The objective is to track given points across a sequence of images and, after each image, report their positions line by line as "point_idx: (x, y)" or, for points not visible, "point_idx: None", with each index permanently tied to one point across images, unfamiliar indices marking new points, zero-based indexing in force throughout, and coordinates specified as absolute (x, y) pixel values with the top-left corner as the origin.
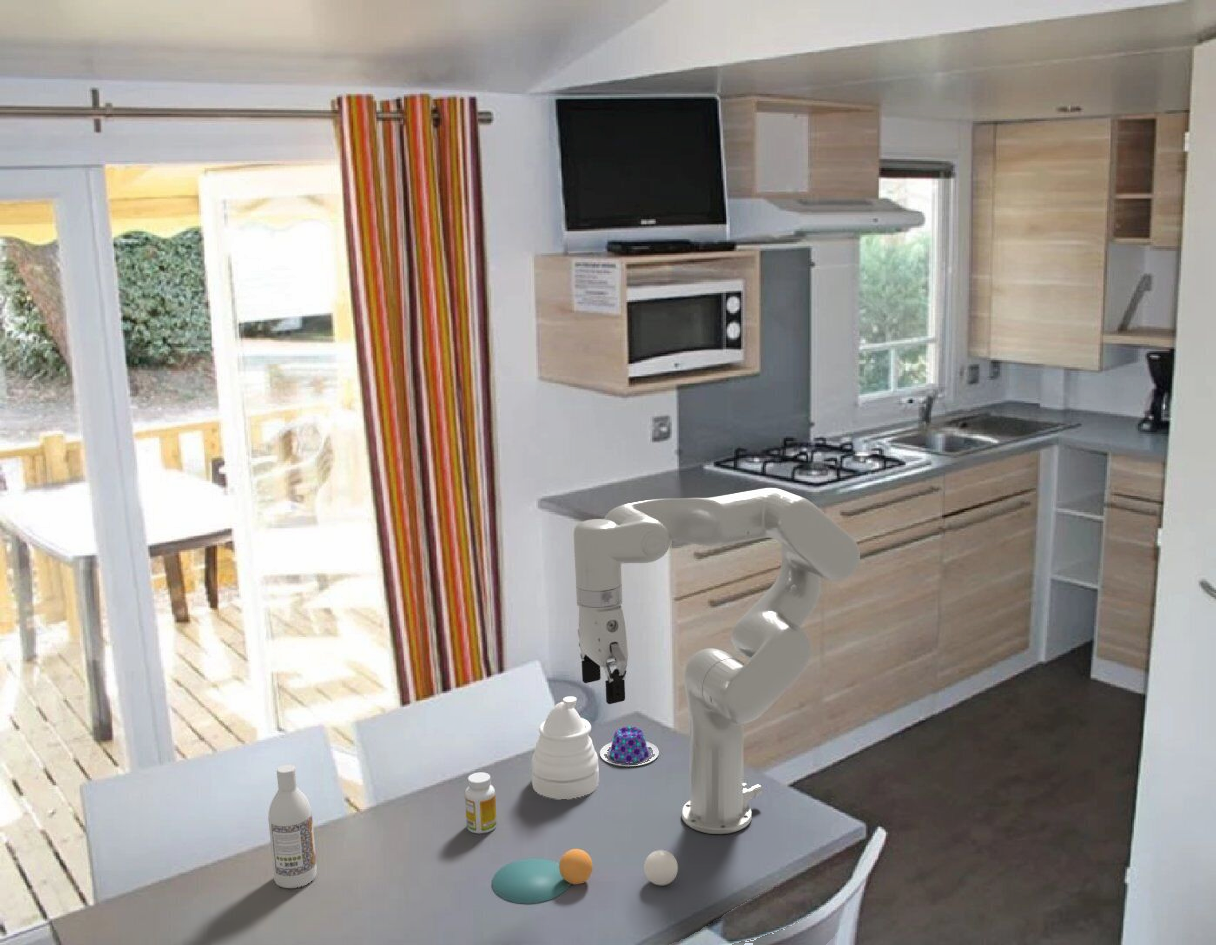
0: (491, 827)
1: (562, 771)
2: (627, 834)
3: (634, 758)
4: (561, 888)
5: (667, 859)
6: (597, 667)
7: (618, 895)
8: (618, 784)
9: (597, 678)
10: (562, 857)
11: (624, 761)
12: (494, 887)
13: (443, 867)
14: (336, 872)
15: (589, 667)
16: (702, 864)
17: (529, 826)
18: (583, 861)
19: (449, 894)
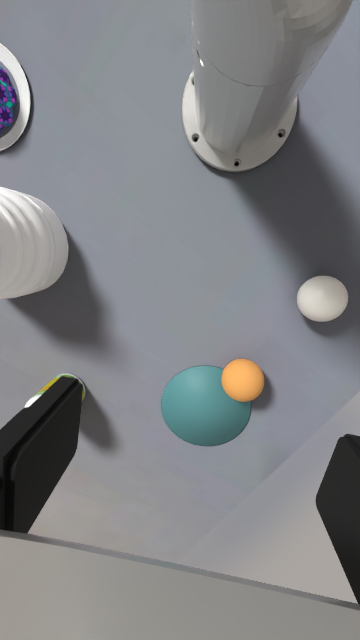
0: (83, 389)
1: (37, 277)
2: (191, 258)
3: (7, 105)
4: None
5: (344, 301)
6: (46, 435)
7: (296, 350)
8: (64, 180)
9: (77, 399)
10: (233, 398)
11: (5, 124)
12: (193, 442)
13: (124, 458)
14: (73, 530)
15: (38, 489)
16: (319, 222)
17: (99, 346)
18: (261, 385)
19: (173, 477)
